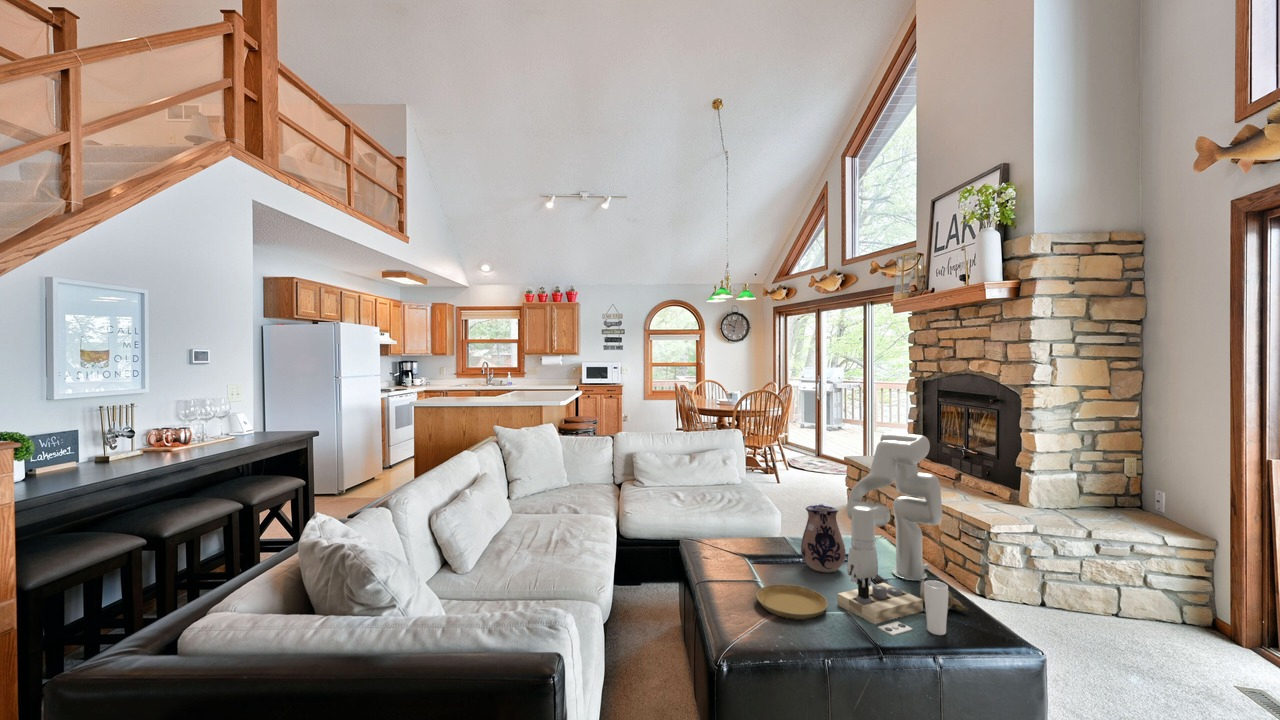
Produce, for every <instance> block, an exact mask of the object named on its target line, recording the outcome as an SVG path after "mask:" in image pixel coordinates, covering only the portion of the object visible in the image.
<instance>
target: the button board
mask: <svg viewBox="0 0 1280 720" xmlns="http://www.w3.org/2000/svg"><path fill="white" fill-rule="evenodd" d="M874 585H880V586H884V587H886V588H887V600H883V601H879V600H877V599H875V598H873V597H872V586H874ZM874 585H873V584H872V585H870V586H869V596H870V597H871V604H867V605H863V604H861V603H859V602H857V595H858V588H856V589H852V590H848V591H847V590H846V591H843V592H838V593H837V606H838V607H840V608H843V609H844V610H846V611H848V612H850V613H851V614H854V615H856V614H857V615H856V616H858V615H859V616H860V618H861V617H862V619H863V618H864V620H865V619H866V620H865V621H867V620H868V622H869V621H870V623H871V622H872V623H871V624H873V623H874V624H873V625H878V624H881V622H882V623H884V621H885V622H889V621H892V620H891V619H893V620H895V618H896V619H899V618H898V617H900V618H903V617H906V616H909V615H910V614H911V615H914V614H917V613H921V612H923V611H924V602H923V599H921V598H920V597H918V596H916V595H913V594H911V593H909V592H907V591H906V590H905V591H904V590H902V596H898V597H895V596H892V595H890V594H888V588H890V587H894V588H896V587H895V586H893V585H890V584H888V583H886V582H881V583H877V584H874ZM859 616H858V617H859ZM888 620H889V621H888ZM877 623H878V624H877Z"/></svg>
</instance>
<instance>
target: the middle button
mask: <svg viewBox="0 0 1280 720" xmlns="http://www.w3.org/2000/svg"><path fill="white" fill-rule="evenodd" d="M871 586H872V585H871ZM872 597H873V598H875V599H877V600H879V601H883V600H887V588H886V587H884V586H880V585H876V584H874V586H872Z"/></svg>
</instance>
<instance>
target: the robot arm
mask: <svg viewBox="0 0 1280 720" xmlns="http://www.w3.org/2000/svg"><path fill="white" fill-rule="evenodd" d="M930 448H931V446H930V440H929V439H928V437H926V436H925V435H921V434H912V433H899V432H885V433H882V435H881V436H880V441H879V442H878V444H877V445H876V448H875V452H874V455H873V459H872V463H871V466H870V470H869V473H868V474H867V475H866V476H864V477H863V478H861V479H860V480H858V482H857V483H856V484H855V485H854V486H853V487H852V489H851V490H850V493H849V496H848V500H847V504H846V509H845V510H846V512H845V513H846V515H847V517H848V519H849V520H851V521H850V522H851V524H850V525H851V528H850V529H851V546H850V547H849V550H848V555H847V567H846V568H847V569H846V570H847V571H846V573H847V575H848V576H850V582H852V583H856V585H857V589H858V596H859V597H862V598H864V599H868V598H869V586H871V582H872V580H875V579H876V578H877V575H878V574H879V573H878V572H879V561H878V552H877V548H876V528H877V527H884V526H886V525H888V523H889V522H890V519H891V511H890V509H889V508H888V506H886V505H884V504H881V503H877V502H871V501H864V500H862V498H863V497H864V495H866V494H868V493H869V492H871V491H875V490H877V489H882V488H887V487H889V486H891V485H892V484H893V483H894V484H895V485H894V486H895V488H896V492H898V493H900V494H901V496H898V497H896V498H895V499H894V500H893V503H892V508H893V509H892V510H893V514H894V519H895V563H896V564H895V567H894V568H893V569H896V570H893V569H892V570H891V572H892V571H893V573H895V574H897V575H899V576H901V577H904V578H908V579H915V578H916V579H925V578H927V579H928V575H927V573H925V570H928V569H930V568H931V567H930V564H929V563H924V564H923V532H922V530H921V528H920V526H919V525H918V524H922V525H923V524H924V525H929V526H937V525H940V524H941V522H942V519H943V506H942V493H941V492H942V491H941V482H940V481H939V478H938V477H937V476H936V475H934V474H933V473H928V472H920V471H919V469H918V464H919V463H920V462H922V460H924V459H925V458H926V457H927V456H928V454H929V452H930ZM904 495H905V496H904Z"/></svg>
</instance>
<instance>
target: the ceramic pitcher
mask: <svg viewBox="0 0 1280 720" xmlns="http://www.w3.org/2000/svg"><path fill="white" fill-rule="evenodd" d="M805 510H806V512H807V514H808V517H807V521H806V525H805V529H804V531H803V534H802V539H801V546H800V547H801V548H800V554H801V556H802V558H803V560H804V562H805V564H806V565H807V566H809V568H811V569H812V570H813V571H817V572H821V573H833V572H835V571H837V570H839V569H840V568H841V567H842V565H843V564H844V562H845V559H846V554H847V553H846V547H845V546H846V545H845V543H844V540H843V537H842V533H841V531H840V530H841V529H840V528H839V525H838V524H839V523H838V522H837V521H838V520H837V514H838V512H839V509H837V508H836V507H834V506H833V507H832V506H828V505H824V504H823V503H821V504H818V505H817V504H815V505H809V506H807V507H805Z"/></svg>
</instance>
